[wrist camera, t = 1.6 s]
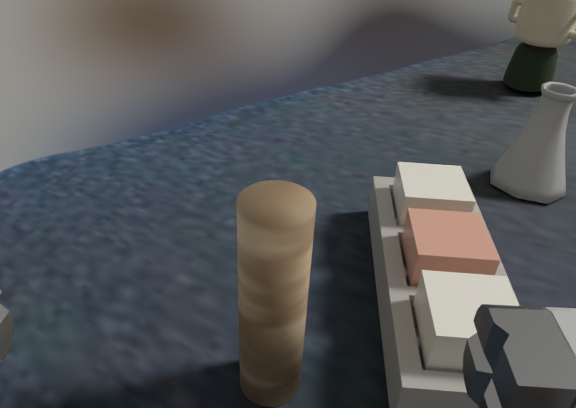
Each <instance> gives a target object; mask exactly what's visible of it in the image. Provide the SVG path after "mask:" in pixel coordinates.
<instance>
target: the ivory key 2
mask: <svg viewBox="0 0 576 408" xmlns="http://www.w3.org/2000/svg"><path fill="white" fill-rule="evenodd" d="M482 304H490V305H510V306H519V304H518V302H517V299H516V297H515V294H514V292H513V290H512V287H511V285H510V282H509V280H508V278H507V276H497V275H483V274H470V273H457V272H444V271H430V270H422V271H421V275H420V278H419V282H418V286H417V290H416V294H415V298H414V302H413V306H414V311H415V316H416V322H417V327H418V332H419V338H420V343H421V348H422V354H423V359H424V365H425V370H431V371H444V372H456V373H463V353H464V349H465V346H466V342H467V339H468V338H470V337H471V336H473V335H474V334H475V333H477V331H476V327H475V324H474V321H473V320H474V317H475V314H476V312H477V309H478V308H479V307H480V306H481V305H482Z"/></svg>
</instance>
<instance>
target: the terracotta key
mask: <svg viewBox="0 0 576 408" xmlns="http://www.w3.org/2000/svg"><path fill="white" fill-rule="evenodd" d="M401 241H402V247H403V252H404V257H405V263H406V268H407V273H408V279H409V284H410V286H414V287H417V286H418V282H419V278H420V275H421V271H422V270H430V271H444V272H457V273H470V274H483V275H495V274H496V271H497V268H498V266H499V263H500V259H499V256H498V254H497V251H496V249H495V247H494V244H493V242H492V239H491V237H490V235H489V232H488V230H487V227H486V225H485V223H484V220H483V218H482V216H481V213H473V212H459V211H445V210H431V209H417V208H408V210H407V215H406V219H405V224H404V228H403V233H402V238H401Z"/></svg>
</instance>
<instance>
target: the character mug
mask: <svg viewBox="0 0 576 408" xmlns="http://www.w3.org/2000/svg"><path fill="white" fill-rule="evenodd" d="M519 5H521V8H520V12H519V16H517V15H516V13H517V9H518V6H519ZM508 20H509V21H511V22H513V23H516V26H515V34H514V37H515V38H516V39H518V40H519V41H521V42H522V43H520V44H519V46H518V47H517V48H516V50H515V52H514V54H513V56H512V58H511V61H510V63H509V65H508V67H507V70H506V72H505V75H504V77H503V80H504V83H505V84H506V85H507V86H509V87H511V88H513V89H516V90H520V91H528V92H536V91H541V86H542V84H544V83H547V82H550V81H551V82H552V81H553V77H554V73H555V67H556V62H557V57H558V54H557V49H556V47H561V46H565V45H566V44H568V42H569V41H570V40H571V39H573V40H576V32H575V29H576V0H513V1H512V4H511V8H510V11H509V15H508Z"/></svg>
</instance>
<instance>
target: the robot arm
mask: <svg viewBox="0 0 576 408" xmlns="http://www.w3.org/2000/svg"><path fill="white" fill-rule="evenodd" d="M1 293H2V292H1V289H0V295H1ZM473 321H474V324H475V327H476V331H477V333H475V334H474V335H473V336H471V337H470V338H468V339H467V342H466V346H465V349H464V353H463V376H464V383H465V387H466V391H467V395H468V396H469V397H470V398H471V399H472V400H473V401H474V402H475V403H476V404H477V405H478V406H479V408H576V309H575V308H554V307H544V308H542V307H530V306H510V305H490V304H482V305H481V306H480V307H479V308H478V309H477V312H476V314H475V317H474V320H473ZM13 335H14V330H13V320H12V317H11V315H10V312H9V311H8V310H7V309H6V308H5V307H3V306H2V305H1V304H0V365H1V364H2V362H3V360H4V359H5V357H6V356H7V354H8V352H9V350H10V346H11V343H12V339H13Z"/></svg>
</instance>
